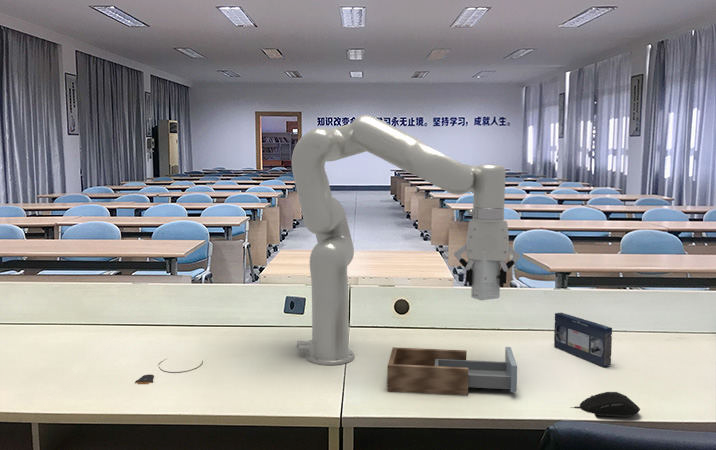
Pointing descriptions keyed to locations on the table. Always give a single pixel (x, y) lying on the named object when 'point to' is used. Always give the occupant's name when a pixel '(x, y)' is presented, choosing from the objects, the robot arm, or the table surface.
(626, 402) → the gaming mouse
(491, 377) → the tray
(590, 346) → the vhs cassette tape
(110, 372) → the table surface
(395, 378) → the housing
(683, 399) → the table surface
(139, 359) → the table surface
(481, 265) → the skincare box
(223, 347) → the table surface
